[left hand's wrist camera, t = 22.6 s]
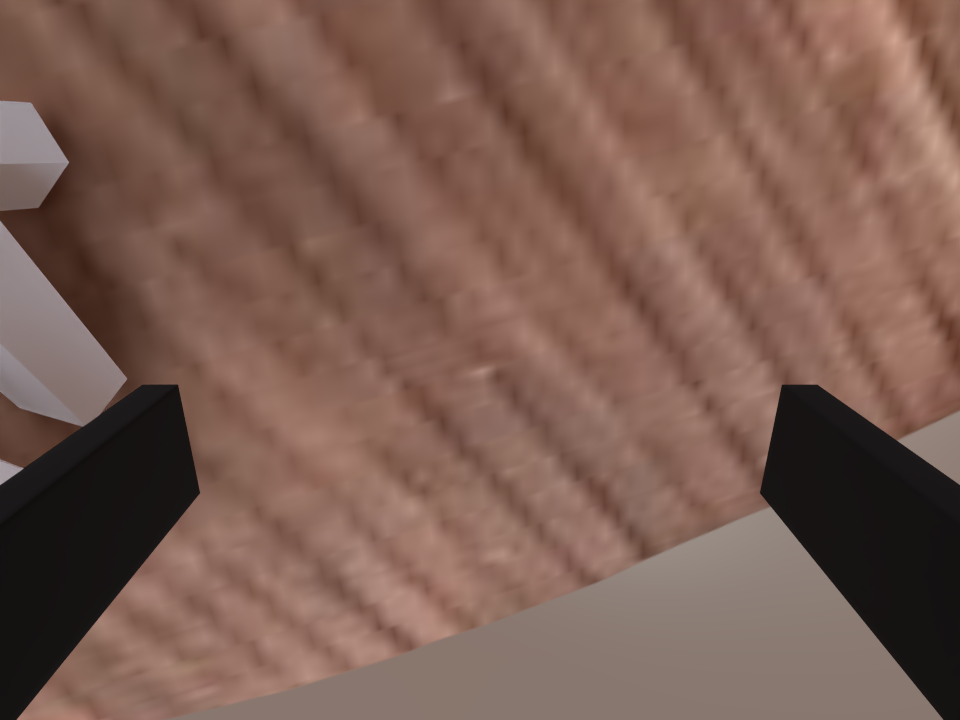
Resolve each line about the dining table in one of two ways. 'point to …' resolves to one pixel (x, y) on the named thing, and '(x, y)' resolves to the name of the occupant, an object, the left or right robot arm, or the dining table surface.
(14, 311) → the pile of blocks
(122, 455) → the left robot arm
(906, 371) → the dining table surface
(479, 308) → the dining table surface
